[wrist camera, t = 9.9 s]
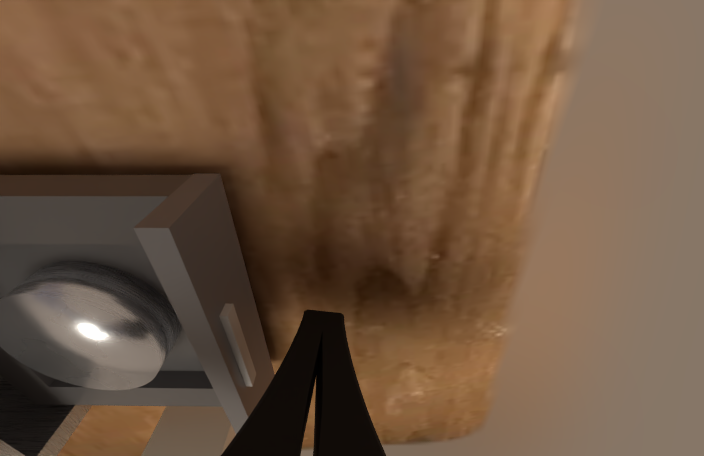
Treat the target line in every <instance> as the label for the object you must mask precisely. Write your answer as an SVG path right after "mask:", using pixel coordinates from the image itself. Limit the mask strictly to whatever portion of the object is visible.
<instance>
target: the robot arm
mask: <svg viewBox="0 0 704 456" xmlns="http://www.w3.org/2000/svg"><path fill="white" fill-rule="evenodd" d="M315 379H316V399H315V429H314V451H313V456H386V454H385V452H384V450H383V447H382V445H381V443H380V440H379V438H378V436H377V433H376V431H375V428H374V426H373V423H372V421H371V418H370V415H369V413H368V410H367V407H366V405H365V402H364V399H363V396H362V393H361V390H360V387H359V384H358V380H357V377H356V374H355V370H354V367H353V363H352V359H351V355H350V351H349V347H348V342H347V337H346V331H345V324H344V315H343V314H342V313H334V312H325V311H316V310H306V311H304V315H303V318H302V321H301V324H300V326H299V329H298V331H297V334H296V336H295V338H294V340H293V342H292V344H291V346H290V348H289V350H288V352H287V354H286V356H285V358H284V360H283V362H282V364H281V366H280V367H279V369H278V371H277V373H276V374H275V376H274V378H273V379H272V381H271V383H270V384H269V386H268V388H267V389H266V391H265V393H264V394H263V396H262V397H261V399H260V401H259V402H258V404H257V405H256V407H255V408H254V410H253V411H252V413H251V414H250V416H249V417H248V419H247V420H246V422H245V423H244V424H243V426H242V427H241V429H240V430H239V431H238V433H237V434H236V436H235V437H234V438H233V440H232V441H231V442H230V444H229V445H228V447H227V448H226V449H225V451H224V452H223V453H222V455H221V456H300V454H301V448H302V442H303V437H304V432H305V428H306V423H307V418H308V413H309V408H310V403H311V398H312V393H313V389H314V384H315Z"/></svg>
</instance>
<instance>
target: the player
mask: <svg viewBox="0 0 704 456" xmlns="http://www.w3.org/2000/svg"><path fill="white" fill-rule="evenodd" d="M91 406H92V405H40V404H34V403H33V402H32V401H30V400H29V399H28V398H27V397H26V396H24V395H23V394H22V393H21V392H20V391H18V390H17V389H16V388H15V387H14V386H12V385H11V384H10V383H9V382H8V381H7V380H5V379H4V378H3V377H2V376H1V375H0V456H57V455H58V453H59V452H60V450H61V449H62V448H63V446H64V445H65V443H66V442H67V441H68V439H69V438H70V436H71V435H72V433H73V432H74V431H75V429H76V428H77V426H78V425H79V423H80V422H81V421H82V419H83V418H84V416H85V415H86V413H87V412H88V411H89V409H90V408H91Z"/></svg>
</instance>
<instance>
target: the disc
mask: <svg viewBox="0 0 704 456" xmlns="http://www.w3.org/2000/svg"><path fill="white" fill-rule="evenodd" d="M180 331H181V325H180V321H179V319H178V317H177V315H176V313H175V311H174V309H173V307H172V305H171V304H170V303H169V301H168V300H167V299H166V298H165V297H164V296H163V295H162V294H160V293H159V292H158V291H157V290H156V289H154V288H153V287H151V286H150V285H148V284H147V283H145V282H144V281H142V280H140V279H138V278H137V277H135V276H133V275H130V274H128V273H126V272H124V271H121V270H119V269H116V268H113V267H109V266H106V265H102V264H98V263H93V262H86V261H61V262H55V263H52V264H49V265H46V266H44V267H43V268H41V269H39V270H38V271H37V272H35V273H34V274H33V275H31V276H30V277H29V278H27V279H26V280H25V281H23V282H22V283H21V284H19V285H18V286H17V287H15V288H14V289H13V290H12V291H10V292H9V293H8V294H6V295H5V296H4V297H2V298H1V299H0V347H1V348H2V349H3V350H5V351H6V352H7V353H8V354H9V355H11V356H12V357H14V358H15V359H16V360H18V361H19V362H21V363H23V364H24V365H26V366H28V367H30V368H32V369H33V370H35V371H37V372H40V373H42V374H44V375H46V376H49V377H51V378H54V379H57V380H60V381H63V382H66V383H69V384H73V385H77V386H82V387H86V388H92V389H100V390H127V389H133V388H137V387H140V386H143V385H145V384H147V383H149V382H150V381H152V380H153V379H154V378H155V377H156V375H157V374H158V372H159V370H160V368H161V367H162V365H163V363H164V362H165V360H166V358H167V356H168V355H169V353H170V351H171V349H172V348H173V346H174V344H175V343H176V341H177V339H178V337H179V335H180Z"/></svg>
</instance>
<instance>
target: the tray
mask: <svg viewBox="0 0 704 456" xmlns="http://www.w3.org/2000/svg"><path fill="white" fill-rule="evenodd" d="M61 261H86V262H93V263H98V264H102V265H106V266H109V267H113V268H116V269H119V270H121V271H124V272H126V273H128V274H130V275H133V276H135V277H137V278H138V279H140V280H142V281H144V282H145V283H147V284H148V285H150V286H151V287H153V288H154V289H156V290H157V291H158V292H159V293H160V294H162V295H163V296H164V297H165V298H166V299H167V300H168V301H169V303H170V304H171V305H172V307H173V309H174V311H175V313H176V315H177V317H178V319H179V321H180V325H181V331H180V335H179V337H178V339H177V341H176V343H175V344H174V346H173V348H172V349H171V351H170V353H169V355H168V356H167V358H166V360H165V362H164V363H163V365H162V367H161V368H160V370H159V372H158V374H157V375H156V377H155V378H154V379H153V380H152V381H150V382H149V383H147V384H145V385H143V386H140V387H137V388H133V389H127V390H100V389H92V388H86V387H82V386H77V385H73V384H69V383H66V382H63V381H60V380H57V379H54V378H51V377H49V376H46V375H44V374H42V373H40V372H37V371H35V370H33V369H32V368H30V367H28V366H26V365H24V364H23V363H21V362H19V361H18V360H16V359H15V358H14V357H12V356H11V355H9V354H8V353H7V352H6V351H5V350H3V349H2V348H1V347H0V375H1V376H2V377H3V378H4V379H5V380H7V381H8V382H9V383H10V384H11V385H12V386H14V387H15V388H16V389H17V390H18V391H20V392H21V393H22V394H23V395H24V396H26V397H27V398H28V399H29V400H30V401H32V402H33V403H34V404H40V405H123V406H205V407H223V409H224V411H225V413H226V415H227V417H228V419H229V421H230V423H231V425H232V427H233V429H234V431H235V433H236V434H237V433H238V431H239V430H240V429H241V427H242V426H243V424H244V423H245V422H246V420H247V419H248V417H249V416H250V414H251V413H252V411H253V410H254V408H255V407H256V405H257V404H258V402H259V401H260V399H261V397H262V396H263V394H264V393H265V391H266V389H267V388H268V386H269V384H270V383H271V381H272V379H273V378H274V376H275V374H274V371H273V367H272V363H271V360H270V356H269V352H268V348H267V345H266V341H265V337H264V334H263V330H262V326H261V323H260V319H259V315H258V311H257V308H256V304H255V300H254V297H253V293H252V289H251V286H250V282H249V278H248V274H247V271H246V267H245V263H244V260H243V256H242V252H241V249H240V245H239V241H238V237H237V234H236V230H235V226H234V223H233V219H232V215H231V212H230V208H229V204H228V200H227V197H226V193H225V189H224V186H223V182H222V178H221V175H220V174H193V175H0V299H1V298H2V297H4V296H5V295H6V294H8V293H9V292H10V291H12V290H13V289H14V288H15V287H17V286H18V285H19V284H21V283H22V282H23V281H25V280H26V279H27V278H29V277H30V276H31V275H33V274H34V273H35V272H37V271H38V270H39V269H41V268H43V267H44V266H46V265H49V264H52V263H55V262H61Z"/></svg>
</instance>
